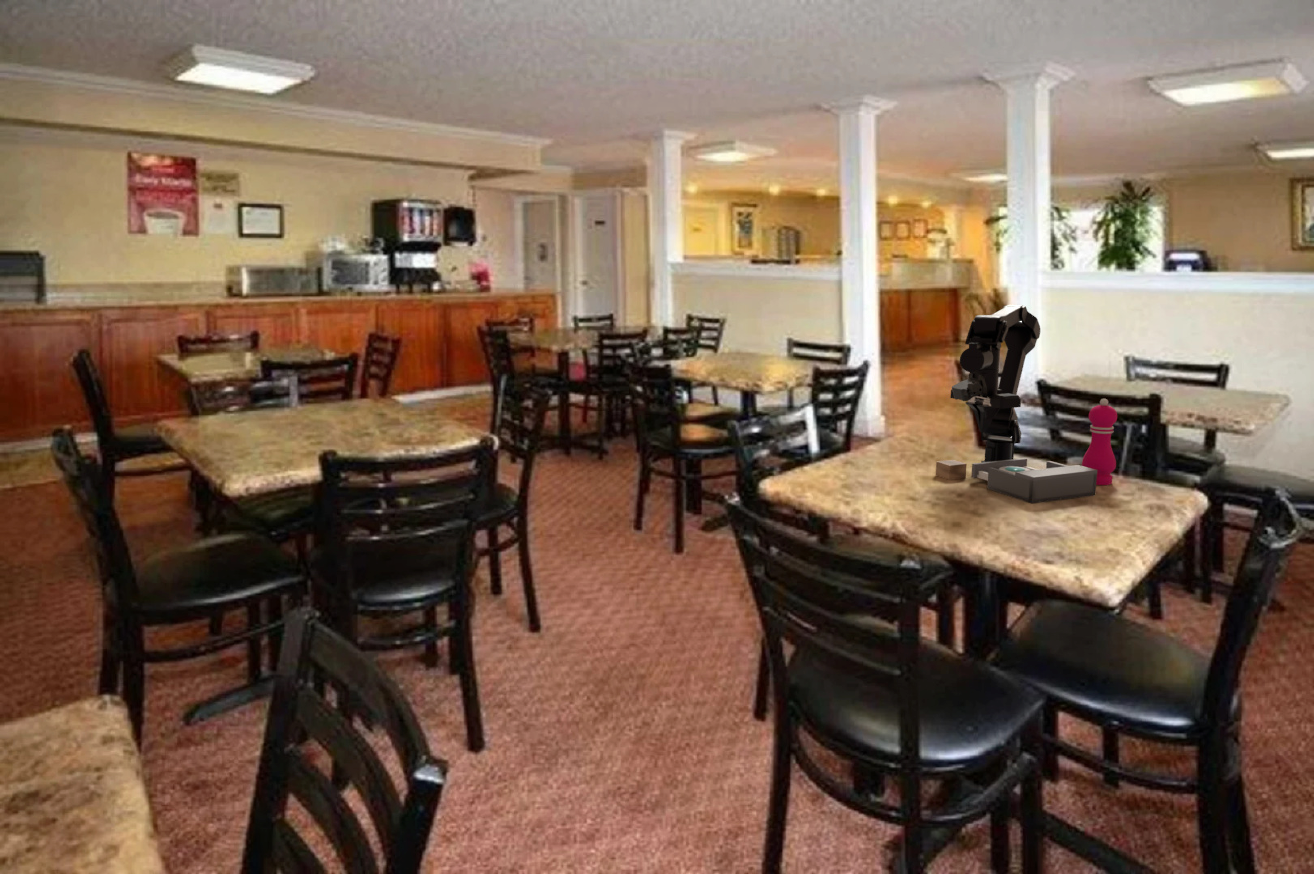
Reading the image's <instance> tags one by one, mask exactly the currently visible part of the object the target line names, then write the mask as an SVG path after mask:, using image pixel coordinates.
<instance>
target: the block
mask: <svg viewBox="0 0 1314 874" xmlns="http://www.w3.org/2000/svg"><path fill="white" fill-rule="evenodd" d="M935 476H937V477H940V478H943V479H945V480H948V481H949V480H959V479H966V478H967V463H965V462H963V461H962V462H961V461H959V460H955V459H947V460H938V461H937V460H936V462H935Z"/></svg>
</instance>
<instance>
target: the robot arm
mask: <svg viewBox="0 0 1314 874" xmlns="http://www.w3.org/2000/svg"><path fill="white" fill-rule="evenodd" d="M1040 335H1041V326H1040V323H1039V320H1038V318H1037V317H1036V316H1035V315H1034V314H1033V313H1030V311H1028V309H1027V306H1025V305H1022V304H1007V305H1004V306H1003V308H1002V309H1000V310H998V311H996V312H995V313H992V314H989V315H988V314H986V315H985V314H981V315H975V317H974V318H973V320H971V322H970V327H969V330H968V333H967V336H966V339H965V342H964V343H965V345H968V348H966V349H964V350H963V351H962V353H961V354H960V357H959V364H960V366H961V368H962V369H963V370H964V371H965V372H967V373H968V378H966V379H965V380H962V381H959V382H957V383H955V384H954V385H952V386H951V390H950V397H949V398H950V399H953V400H960V401H962V402H965V405H967V406H969V408H971V409H972V410H973V414H974V416H975V419H976V424H977V425H978V431H979V432H980V437H981V438H980V439H981V441H986V446H985V448H984V460H981V461H980V463H982V462H992V461H1001V460H1011V459H1014V456H1015V444H1021V439H1022V430H1021V427H1020V425H1019V422H1018V420H1019V419H1018V418H1019V417H1018V415H1017V412H1016V410H1015V408H1021V406H1022V398H1021V397H1020V395H1019V394H1018V389H1019V385H1020V381H1021V377H1022V373H1023V369H1024V365H1025V360H1026V356H1027V355H1028V354H1029V353H1030V352H1031V351H1033V350H1034V349H1035V348H1036V344H1037V341H1038V339H1039V338H1040ZM1003 343H1004V344H1005V345H1006V349H1007V351H1006V355H1005V358H1004V363H1003V367H1002V370H1001V371H1002V372H1001V371H1000V359H1001V358H1000V357H1001V348H1002V344H1003ZM999 378H1000V379H999Z"/></svg>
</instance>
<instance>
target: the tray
mask: <svg viewBox="0 0 1314 874" xmlns="http://www.w3.org/2000/svg"><path fill="white" fill-rule="evenodd" d="M1006 466H1015V467H1023V468H1027V469H1030V470H1038V468H1034V467H1032V466H1031V467H1030V466H1028V458H1025V457H1022V458H1020V457H1019V458H1013V459H1011V460H1001V461H992V462H982V463H981V462H976V463H975V462H974V463H971V478H972V479H981V480H984V481H987V482H988V470H989V468H990V467H993V468H996V469H999V468H1000V467H1006Z"/></svg>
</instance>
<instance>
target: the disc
mask: <svg viewBox="0 0 1314 874" xmlns="http://www.w3.org/2000/svg"><path fill="white" fill-rule="evenodd" d="M999 469H1000V470H1003V471H1006V472H1010V473H1013V474H1015V472H1020V471H1029V470H1030V469H1027V468H1023V467H1015V466H1006V467H1000V468H999Z"/></svg>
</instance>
